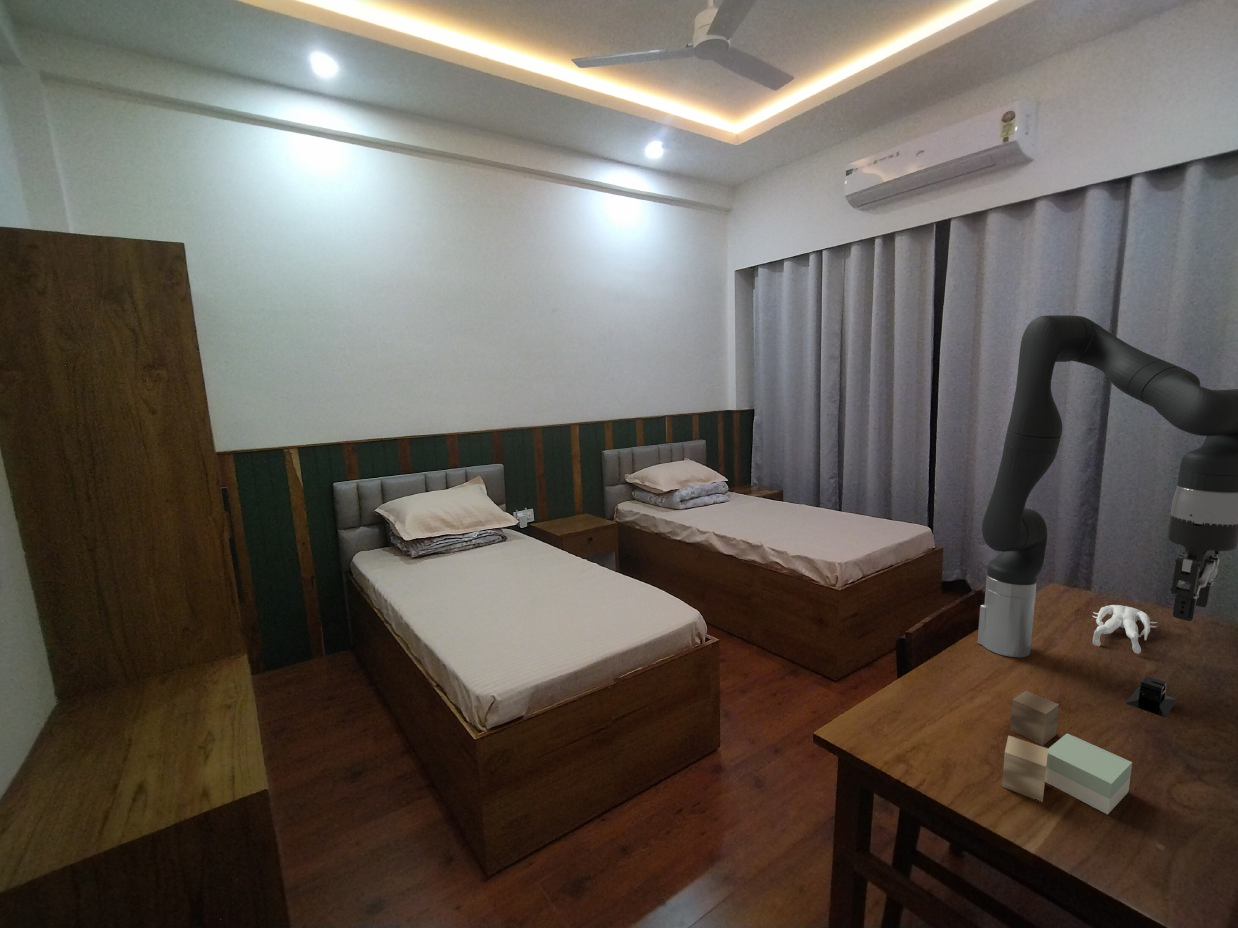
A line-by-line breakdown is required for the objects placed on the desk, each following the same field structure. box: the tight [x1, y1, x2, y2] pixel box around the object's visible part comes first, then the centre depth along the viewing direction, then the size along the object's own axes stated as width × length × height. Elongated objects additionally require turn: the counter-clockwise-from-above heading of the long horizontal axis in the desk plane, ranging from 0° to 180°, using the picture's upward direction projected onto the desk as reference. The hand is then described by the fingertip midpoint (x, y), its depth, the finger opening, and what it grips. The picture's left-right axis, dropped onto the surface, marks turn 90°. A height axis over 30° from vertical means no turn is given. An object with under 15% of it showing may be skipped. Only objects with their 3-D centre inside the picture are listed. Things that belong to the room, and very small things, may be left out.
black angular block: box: [1125, 675, 1178, 718], centre depth 102 cm, size 12×7×5 cm, turn 125°
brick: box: [1001, 735, 1048, 803], centre depth 82 cm, size 5×5×6 cm
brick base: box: [1045, 733, 1133, 815], centre depth 81 cm, size 8×8×5 cm
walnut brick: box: [1009, 690, 1060, 746], centre depth 94 cm, size 5×5×6 cm
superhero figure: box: [1092, 604, 1159, 654], centre depth 129 cm, size 12×6×25 cm
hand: (1190, 611), depth 86 cm, fingers open, 8 cm apart
